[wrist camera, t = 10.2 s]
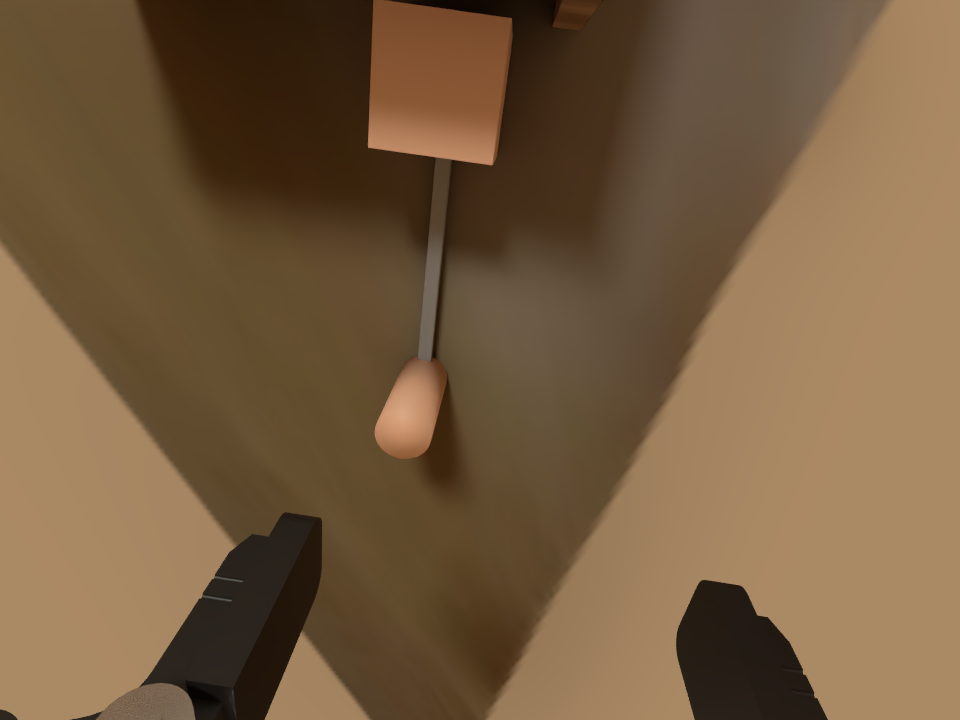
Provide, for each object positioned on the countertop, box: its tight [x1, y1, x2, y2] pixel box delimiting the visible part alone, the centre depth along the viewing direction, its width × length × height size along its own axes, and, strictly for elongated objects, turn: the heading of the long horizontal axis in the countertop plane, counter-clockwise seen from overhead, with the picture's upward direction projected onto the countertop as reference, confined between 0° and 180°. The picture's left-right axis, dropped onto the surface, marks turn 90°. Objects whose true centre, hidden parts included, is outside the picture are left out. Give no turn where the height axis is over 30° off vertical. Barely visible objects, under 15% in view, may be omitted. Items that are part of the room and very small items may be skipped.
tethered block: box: [368, 0, 513, 459], centre depth 24 cm, size 18×5×6 cm, turn 173°
